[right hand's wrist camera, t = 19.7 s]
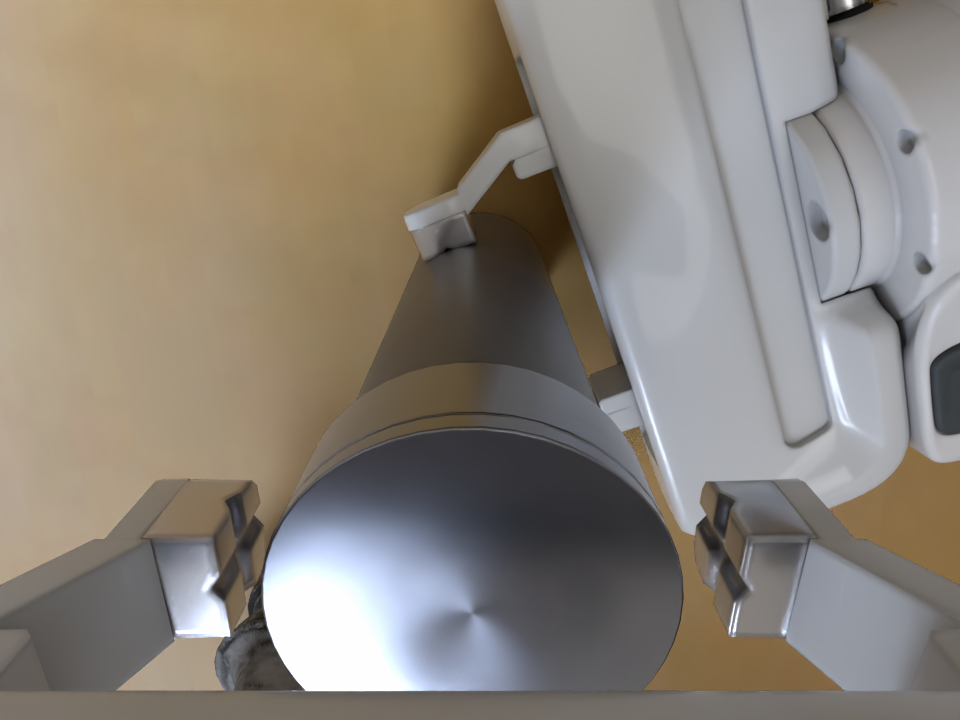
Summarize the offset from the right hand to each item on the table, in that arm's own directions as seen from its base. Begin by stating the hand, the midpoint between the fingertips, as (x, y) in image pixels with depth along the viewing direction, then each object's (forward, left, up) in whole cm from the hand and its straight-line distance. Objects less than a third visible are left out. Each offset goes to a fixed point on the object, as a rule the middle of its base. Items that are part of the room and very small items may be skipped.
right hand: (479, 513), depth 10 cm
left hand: (-1, 0, -10) cm, 10 cm away
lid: (0, 0, +2) cm, 2 cm away
